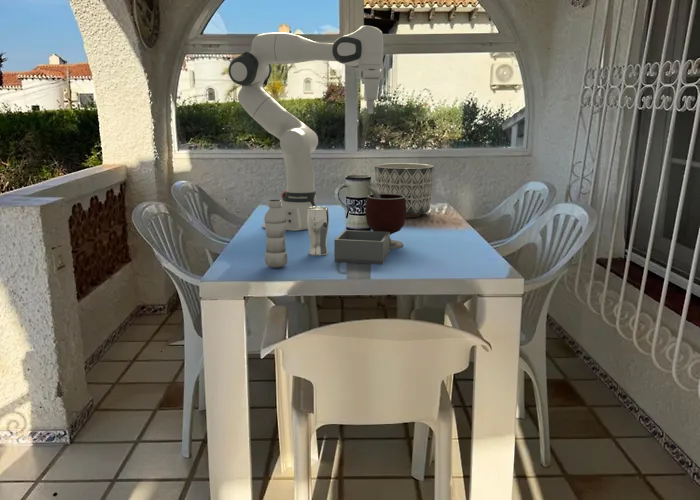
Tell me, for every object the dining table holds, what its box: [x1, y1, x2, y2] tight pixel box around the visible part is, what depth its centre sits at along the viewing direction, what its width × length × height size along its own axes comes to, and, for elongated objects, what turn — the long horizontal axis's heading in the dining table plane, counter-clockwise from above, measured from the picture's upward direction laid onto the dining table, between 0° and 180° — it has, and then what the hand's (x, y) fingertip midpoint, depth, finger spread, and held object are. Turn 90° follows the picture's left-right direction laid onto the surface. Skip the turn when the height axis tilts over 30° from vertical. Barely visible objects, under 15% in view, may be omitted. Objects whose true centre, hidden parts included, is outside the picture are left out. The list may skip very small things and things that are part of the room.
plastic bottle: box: [263, 198, 289, 269], centre depth 170 cm, size 6×7×20 cm
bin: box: [333, 229, 391, 265], centre depth 184 cm, size 15×15×7 cm
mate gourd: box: [365, 185, 407, 250], centre depth 199 cm, size 16×14×20 cm
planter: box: [374, 162, 435, 219], centre depth 258 cm, size 26×26×22 cm
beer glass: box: [307, 205, 330, 257], centre depth 187 cm, size 7×7×15 cm
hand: (369, 113), depth 211 cm, fingers open, 8 cm apart
